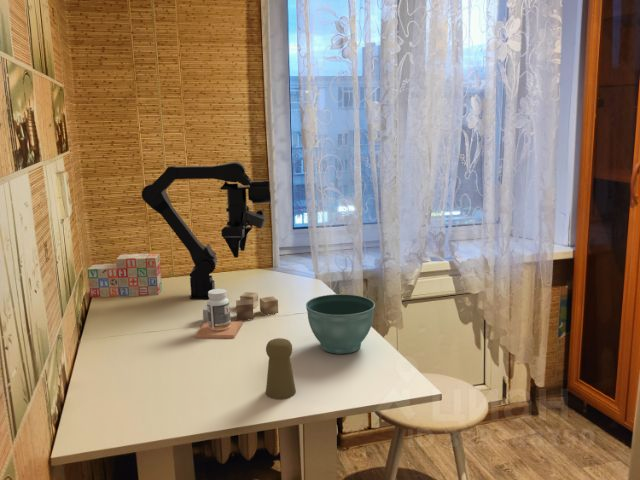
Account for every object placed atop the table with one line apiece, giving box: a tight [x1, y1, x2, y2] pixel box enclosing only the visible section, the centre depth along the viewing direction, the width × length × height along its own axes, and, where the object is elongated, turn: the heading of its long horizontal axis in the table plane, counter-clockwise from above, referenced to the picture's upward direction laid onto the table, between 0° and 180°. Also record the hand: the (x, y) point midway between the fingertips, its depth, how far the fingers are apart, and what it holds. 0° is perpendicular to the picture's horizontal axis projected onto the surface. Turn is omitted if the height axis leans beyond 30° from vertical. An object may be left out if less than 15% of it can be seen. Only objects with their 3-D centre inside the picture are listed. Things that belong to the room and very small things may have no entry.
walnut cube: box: [235, 299, 255, 322], centre depth 162 cm, size 4×4×4 cm
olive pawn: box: [265, 337, 297, 400], centre depth 117 cm, size 6×6×11 cm
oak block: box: [259, 296, 279, 316], centre depth 166 cm, size 4×4×4 cm
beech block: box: [239, 291, 260, 310], centre depth 171 cm, size 4×4×4 cm
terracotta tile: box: [194, 320, 243, 339], centre depth 153 cm, size 10×10×1 cm
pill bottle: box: [206, 288, 231, 331], centre depth 152 cm, size 6×6×10 cm
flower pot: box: [305, 293, 376, 355], centre depth 139 cm, size 16×16×11 cm
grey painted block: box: [202, 304, 208, 325], centre depth 160 cm, size 4×4×4 cm
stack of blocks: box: [86, 253, 163, 298], centre depth 187 cm, size 21×6×12 cm, turn 93°
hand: (239, 254), depth 181 cm, fingers open, 9 cm apart
